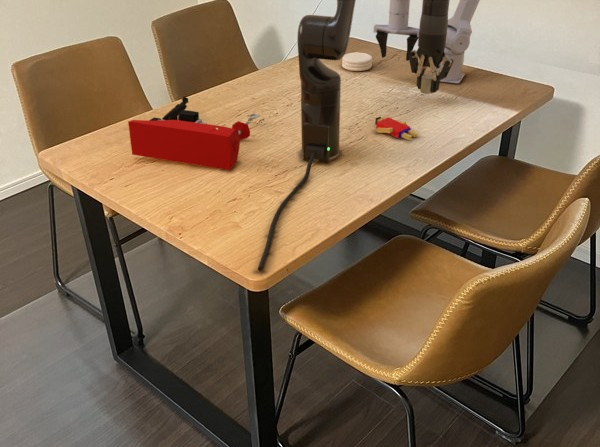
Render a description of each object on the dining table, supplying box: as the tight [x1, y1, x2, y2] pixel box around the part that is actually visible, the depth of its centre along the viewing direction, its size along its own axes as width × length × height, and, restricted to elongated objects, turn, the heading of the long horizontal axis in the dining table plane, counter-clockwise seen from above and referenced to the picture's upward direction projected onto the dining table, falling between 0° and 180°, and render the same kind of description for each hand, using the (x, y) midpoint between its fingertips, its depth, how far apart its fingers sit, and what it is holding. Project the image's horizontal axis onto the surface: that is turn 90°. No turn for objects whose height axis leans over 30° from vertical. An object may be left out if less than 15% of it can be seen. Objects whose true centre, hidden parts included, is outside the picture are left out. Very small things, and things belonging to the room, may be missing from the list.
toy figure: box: [374, 116, 418, 141], centre depth 162 cm, size 2×7×12 cm
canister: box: [419, 73, 433, 95], centre depth 178 cm, size 4×4×4 cm
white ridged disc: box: [341, 52, 373, 72], centre depth 207 cm, size 10×10×4 cm
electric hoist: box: [127, 96, 260, 171], centre depth 159 cm, size 10×27×30 cm
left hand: (427, 89), depth 179 cm, fingers closed on canister, 4 cm apart
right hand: (395, 58), depth 189 cm, fingers open, 7 cm apart
